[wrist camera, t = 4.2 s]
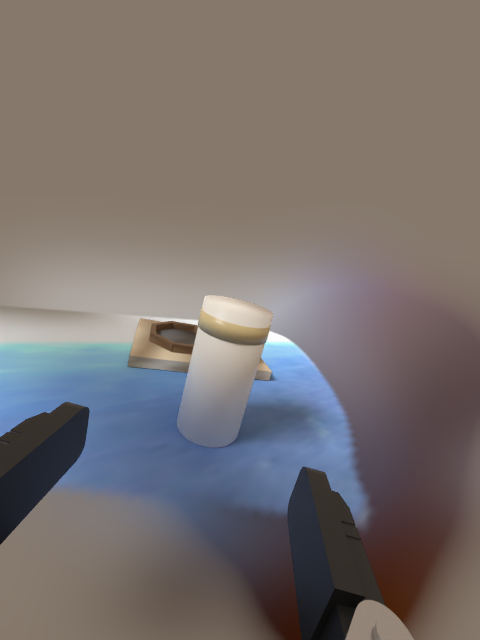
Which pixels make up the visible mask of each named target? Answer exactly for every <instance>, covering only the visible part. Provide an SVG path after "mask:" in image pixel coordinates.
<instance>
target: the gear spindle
mask: <svg viewBox="0 0 480 640" xmlns="http://www.w3.org/2000/svg"><path fill="white" fill-rule="evenodd" d="M272 317H273V313H272V312H271V311H269V310H267V309H265V308H263V307H261V306H258V305H255V304H252V303H249V302H246V301H243V300H239V299H234V298H230V297H224V296H217V295H216V296H215V295H208V296H205V298H204V303H203V307H202V309H201V313H200V317H199V322H198V329H197V334H196V338H195V342H194V347H193V351H192V356H191V360H190V365H189V369H188V373H187V378H186V382H185V387H184V391H183V395H182V400H181V404H180V409H179V413H178V418H177V427H178V430H179V431H180V433H181V434H182V435H183V436H184V437H185V438H186V439H188V440H189V441H191V442H192V443H195V444H197V445H200V446H203V447H209V448H219V447H224V446H227V445H229V444H231V443H233V442H234V441H235V440H236V438H237V436H238V433H239V430H240V426H241V423H242V419H243V416H244V413H245V409H246V406H247V402H248V399H249V396H250V392H251V389H252V385H253V382H254V379H255V375H256V372H257V368H258V365H259V361H260V358H261V355H262V351H263V348H264V344H265V343H266V340H267V337H268V333H269V330H270V326H271V325H270V324H271V321H272Z"/></svg>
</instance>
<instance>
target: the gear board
mask: <svg viewBox="0 0 480 640" xmlns="http://www.w3.org/2000/svg"><path fill="white" fill-rule="evenodd" d="M197 329H198V326H197V325H192V324H186V323H180V322H174V321H168V322H159V321H153V320H147V319H141V318H140V320H139V324H138V327H137V331H136V334H135V338H134V342H133V345H132V349H131V352H130V356H129V362H128V367H138V368H148V369H158V370H168V371H178V372H188V369H189V365H190V360H191V356H192V351H193V347H194V342H195V338H196V334H197ZM271 373H272V371H271V370H270V369H269V368H268V366H267V365H266V364H265V363H264V361H263V360H262V359H261V358H260V361H259V365H258V368H257V372H256V375H255V379H258V380H268V381H269V380H270V376H271Z"/></svg>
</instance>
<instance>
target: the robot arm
mask: <svg viewBox="0 0 480 640" xmlns="http://www.w3.org/2000/svg"><path fill="white" fill-rule="evenodd" d="M88 418H89V408H88V407H84V406H81V405H77V404H73V403H70V402H65V403H63V404H62V405H60V406H59V407H58V408H56V409H55V410H54V411H52V412H51V413H46V412H44V413H41V414H39V415H36V416H34V417H31V418H29V419H26V420H25V421H23V422H22V423H20V424H19V425H17V426H16V427H14V428H13V429H11V431H10V432H7V433H6V434H4V435H3V436H1V437H0V544H1V543H2V542H3V541H4V540H5V539H6V538H7V537H8V536H9V534H10V533H11V532H12V531H13V530H14V529H15V528H16V527H17V526H18V525H19V524H20V522H21V521H22V520H23V519H24V518H25V517H26V516H27V515H28V514H29V512H30V511H31V510H32V509H33V508H34V507H35V506H36V505H37V504H38V502H39V501H40V500H41V499H42V498H43V497H44V496H45V495H46V494H47V493H48V492H49V491H50V489H51V488H52V487H53V486H54V485H55V484H56V483H57V482H58V481H59V479H60V478H61V477H62V476H63V475H64V474H65V473H66V472H67V471H68V470H69V468H70V467H71V466H72V465H73V464H74V463H75V462H76V461H77V459H78V458H79V456H80V455H81V453H82V451H83V448H84V445H85V441H86V433H87V426H88ZM288 527H289V536H290V544H291V553H292V561H293V570H294V578H295V587H296V596H297V604H298V612H299V621H300V630H301V638H302V640H414V639H413V637H412V636H411V634H410V632H409V631H408V629H407V628H406V627H405V625H404V624H403V623H402V621H401V620H400V619H399V618H398V617H397V616H396V615H395V614H394V613H393V612H392V611H391V610H390V609H388V608H387V607H386V605H385V603H384V600H383V598H382V595H381V592H380V590H379V587H378V584H377V582H376V579H375V576H374V573H373V571H372V568H371V565H370V563H369V560H368V557H367V555H366V552H365V549H364V547H363V544H362V542H361V541H360V539H361V538H360V536H359V533H358V530H357V528H355V522H354V520H353V517H352V514H351V512H350V509H349V507H348V506H347V504H346V503H345V501H344V500H343V499H342V497H341V496H340V494H339V493H338V492H334V491H331V488H330V485H329V482H328V479H327V476H326V474H325V472H322V471H319V470H315V469H311V468H307V467H302V469H301V471H300V473H299V476H298V479H297V481H296V484H295V487H294V489H293V492H292V495H291V497H290V500H289V505H288Z"/></svg>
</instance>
